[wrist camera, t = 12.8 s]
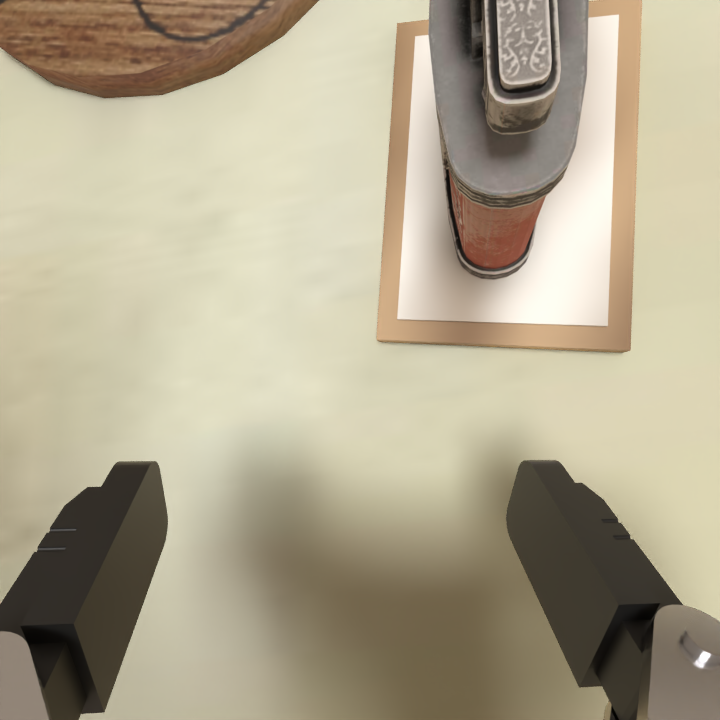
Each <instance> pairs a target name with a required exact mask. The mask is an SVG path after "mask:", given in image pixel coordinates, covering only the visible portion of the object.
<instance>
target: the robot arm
mask: <svg viewBox="0 0 720 720" xmlns="http://www.w3.org/2000/svg"><path fill="white" fill-rule="evenodd" d="M506 521H507V529H508V533H509V536H510V539H511V541H512V543H513V545H514V548H515V550H516V552H517V554H518V556H519V558H520V561H521V563H522V565H523V567H524V569H525V571H526V574H527V576H528V578H529V580H530V582H531V584H532V586H533V589H534V591H535V593H536V595H537V597H538V599H539V602H540V604H541V606H542V608H543V610H544V612H545V615H546V617H547V619H548V621H549V623H550V625H551V627H552V630H553V632H554V634H555V636H556V638H557V640H558V643H559V645H560V647H561V649H562V651H563V653H564V656H565V658H566V660H567V662H568V664H569V666H570V669H571V671H572V673H573V675H574V677H575V679H576V681H577V684H578V686H579V687H594V686H602V687H603V689H604V691H605V693H606V695H607V697H608V699H609V701H608V703H607V705H606V708H605V712H604V719H603V720H720V622H719V621H718V620H716V619H715V618H713V617H711V616H710V615H708V614H706V613H704V612H702V611H700V610H697V609H695V608H692V607H688V606H684V605H683V604H682V603H681V602H680V601H679V599H678V598H677V597H676V595H675V594H674V593H673V591H672V590H671V589H670V587H669V586H668V585H667V583H666V582H665V581H664V579H663V578H662V577H661V575H660V574H659V573H658V571H657V570H656V569H655V567H654V566H653V565H652V563H651V562H650V561H649V559H648V558H647V557H646V555H645V554H644V553H643V552H642V550H641V549H640V548H639V546H638V545H637V544H636V542H635V541H634V540H633V539H630V534H629V533H628V532H627V530H626V529H625V528H624V526H623V525H622V524H621V523H618V518H617V517H616V516H615V514H614V513H613V512H612V510H611V509H610V508H609V507H608V505H607V504H606V503H605V501H604V500H603V499H602V498H601V497H599V496H598V495H597V494H595V493H594V492H593V491H592V490H590V489H589V488H588V487H586V486H585V485H584V484H583V483H575V482H574V481H573V479H572V478H571V477H570V475H569V474H568V472H567V471H566V470H565V468H564V467H563V465H562V464H561V463H560V462H558V461H556V460H528V461H523V462H521V464H520V466H519V468H518V472H517V475H516V479H515V483H514V486H513V490H512V494H511V497H510V501H509V505H508V508H507V515H506ZM167 526H168V516H167V509H166V503H165V497H164V491H163V485H162V480H161V474H160V468H159V465H158V463H157V462H155V461H130V462H117V463H116V464H115V465H114V466H113V468H112V469H111V471H110V473H109V475H108V476H107V478H106V480H105V481H104V483H103V485H102V486H101V487H87V488H86V489H85V490H83V491H82V492H81V493H80V494H78V495H77V496H76V497H75V498H74V499H72V500H71V501H70V502H69V503H68V504H66V505H65V506H64V507H63V509H62V511H61V512H60V514H59V515H58V517H57V518H56V520H55V521H54V523H53V524H52V526H51V527H50V532H49V533H47V534H46V535H45V537H44V538H43V540H42V541H41V543H40V544H39V546H38V550H37V552H34V553H33V555H32V557H31V558H30V560H29V561H28V563H27V564H26V566H25V567H24V569H23V570H22V572H21V573H20V575H19V577H18V578H17V580H16V581H15V583H14V584H13V586H12V587H11V589H10V590H9V592H8V593H7V595H6V596H5V598H4V600H3V601H2V603H1V604H0V720H79V717H80V715H81V714H84V713H102V712H105V709H106V706H107V703H108V700H109V698H110V695H111V692H112V689H113V686H114V684H115V681H116V678H117V675H118V672H119V670H120V667H121V664H122V661H123V658H124V656H125V653H126V650H127V647H128V644H129V642H130V639H131V636H132V633H133V630H134V628H135V625H136V622H137V619H138V616H139V614H140V611H141V608H142V605H143V603H144V600H145V597H146V594H147V591H148V589H149V586H150V583H151V580H152V577H153V575H154V572H155V569H156V566H157V563H158V561H159V558H160V555H161V552H162V549H163V547H164V543H165V540H166V534H167Z"/></svg>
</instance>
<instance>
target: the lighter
mask: <svg viewBox="0 0 720 720" xmlns="http://www.w3.org/2000/svg"><path fill="white" fill-rule="evenodd" d="M588 14H589V1H588V0H430V6H429V28H428V36H429V45H430V55H431V64H432V74H433V83H434V93H435V102H436V111H437V119H438V126H439V135H440V145H441V154H442V163H443V173H444V182H445V192H446V201H447V211H448V220H449V224H450V228H451V233H452V237H453V241H454V245H455V250H456V254H457V258H458V260H459V262H460V264H461V266H462V268H463V269H465V270H466V271H467V272H468V273H469V274H470V275H473V276H475V277H478V278H480V279H488V280H496V279H501V278H505V277H508V276H510V275H512V274H514V273H515V272H517V271H518V270H519V269H520V268H521V267H522V266H523V265H524V264H525V263H526V261H527V259H528V256H529V254H530V251H531V249H532V246H533V242H534V236H535V230H536V223H537V218H538V215H539V213H540V210H541V208H542V205H543V203H544V200H545V197H546V195H548V194H549V193H550V192H551V191H552V190H553V189H554V188H555V187H556V186H557V184H558V183H559V182H560V181H561V180H562V179H563V176H564V174H565V172H566V169H567V167H568V165H569V162H570V160H571V157H572V155H573V152H574V150H575V147H576V142H577V136H578V130H579V123H580V117H581V111H582V104H583V98H584V92H585V85H586V79H587V56H588Z"/></svg>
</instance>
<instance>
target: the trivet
mask: <svg viewBox="0 0 720 720" xmlns="http://www.w3.org/2000/svg"><path fill="white" fill-rule="evenodd" d="M318 1H319V0H0V47H1V48H2V49H3V50H5V51H6V52H8V53H9V54H10V55H12V56H13V57H14V58H16V59H17V60H19V61H20V62H22V63H23V64H24V65H26V66H27V67H29V68H30V69H32V70H33V71H35V72H36V73H38V74H39V75H41V76H42V77H44V78H45V79H47V80H48V81H50V82H51V83H53V84H54V85H56V86H60V87H64V88H68V89H72V90H76V91H80V92H83V93H87V94H91V95H95V96H99V97H103V98H115V97H133V96H150V95H163V94H166V93H169V92H172V91H175V90H178V89H181V88H184V87H187V86H189V85H192V84H195V83H198V82H201V81H204V80H207V79H210V78H213V77H216V76H219V75H222V74H224V73H226V72H227V71H229V70H230V69H232V68H233V67H235V66H237V65H238V64H240V63H241V62H243V61H244V60H246V59H248V58H249V57H251V56H252V55H254V54H255V53H257V52H259V51H260V50H262V49H263V48H265V47H266V46H268V45H270V44H271V43H273V42H274V41H276V40H277V39H279V38H281V37H282V36H284V35H285V34H286V33H287V32H288V31H289V30H290V29H291V28H292V27H293V26H294V25H295V24H296V23H297V22H298V21H299V20H300V19H301V18H302V17H303V16H304V15H305V14H306V13H307V12H308V11H309V10H310V9H311V8H312V7H313V6H314V5H315V4H316V3H317V2H318Z"/></svg>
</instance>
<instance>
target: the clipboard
mask: <svg viewBox="0 0 720 720" xmlns="http://www.w3.org/2000/svg"><path fill="white" fill-rule="evenodd" d="M641 15H642V0H597V1H589V14H588V56H587V79H586V85H585V92H584V98H583V104H582V111H581V117H580V123H579V130H578V136H577V142H576V147H575V150H574V152H573V155H572V157H571V160H570V162H569V165H568V167H567V169H566V172H565V174H564V176H563V179H562V180H561V181H560V182H559V183H558V184H557V186H556V187H555V188H554V189H553V190H552V191H551V192H550V193H549V194H548V195H546V197H545V200H544V203H543V205H542V208H541V210H540V213H539V215H538V218H537V223H536V230H535V236H534V242H533V246H532V249H531V251H530V254H529V256H528V259H527V261H526V263H525V264H524V265H523V266H522V267H521V268H520V269H519V270H518V271H517V272H515V273H514V274H512V275H510V276H508V277H505V278H501V279H496V280H488V279H480V278H478V277H475V276H473V275H470V274H469V273H468V272H467V271H466V270H465V269H463V268H462V266H461V264H460V262H459V260H458V258H457V254H456V250H455V245H454V241H453V237H452V233H451V228H450V224H449V220H448V211H447V201H446V192H445V182H444V173H443V163H442V154H441V145H440V135H439V126H438V119H437V111H436V102H435V93H434V83H433V74H432V64H431V55H430V45H429V36H428V28H429V20H422V21H413V22H405V23H397V37H396V52H395V67H394V82H393V97H392V112H391V128H390V143H389V158H388V173H387V188H386V203H385V218H384V234H383V249H382V264H381V279H380V294H379V309H378V325H377V340H378V341H380V342H396V343H419V344H441V345H464V346H487V347H509V348H532V349H555V350H577V351H600V352H627V351H630V349H631V319H632V288H633V258H634V228H635V197H636V167H637V137H638V106H639V76H640V46H641Z"/></svg>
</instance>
